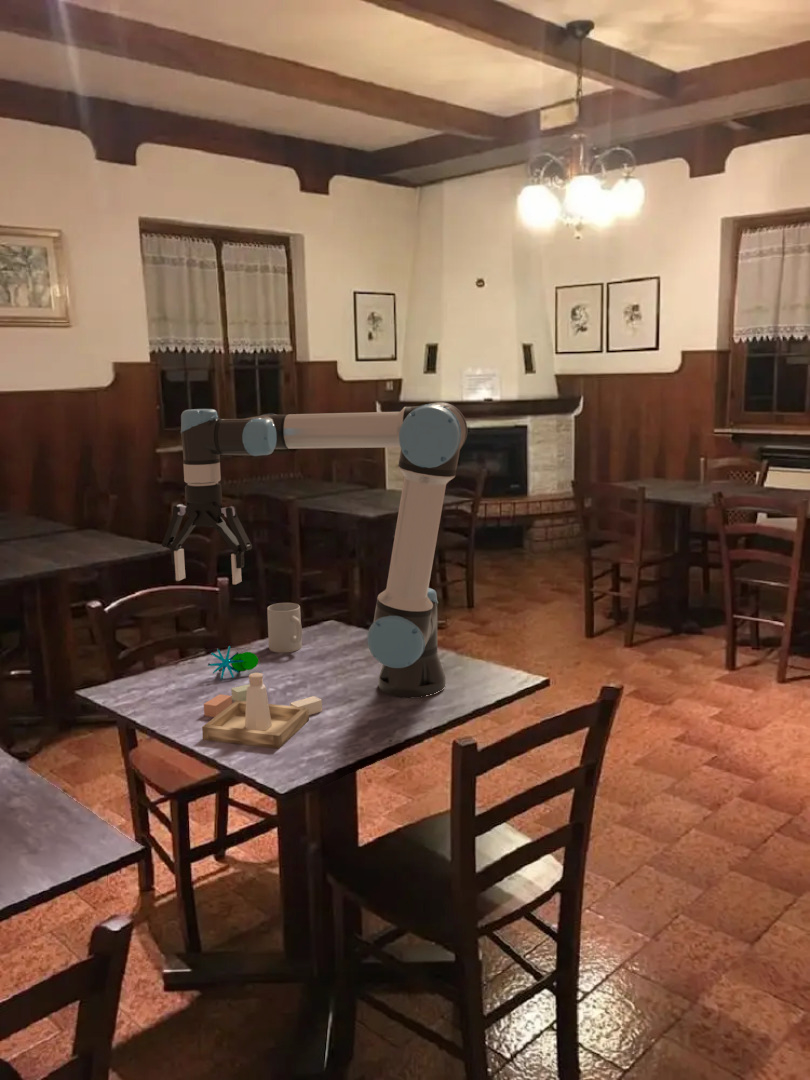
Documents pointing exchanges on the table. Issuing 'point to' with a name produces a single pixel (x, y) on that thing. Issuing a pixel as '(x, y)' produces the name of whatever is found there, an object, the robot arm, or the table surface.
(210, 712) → the terracotta brick
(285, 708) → the oak tray
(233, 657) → the stick construction toy
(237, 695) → the sage brick
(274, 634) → the mug
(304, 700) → the cream brick
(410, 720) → the table surface
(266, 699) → the pepper shaker
